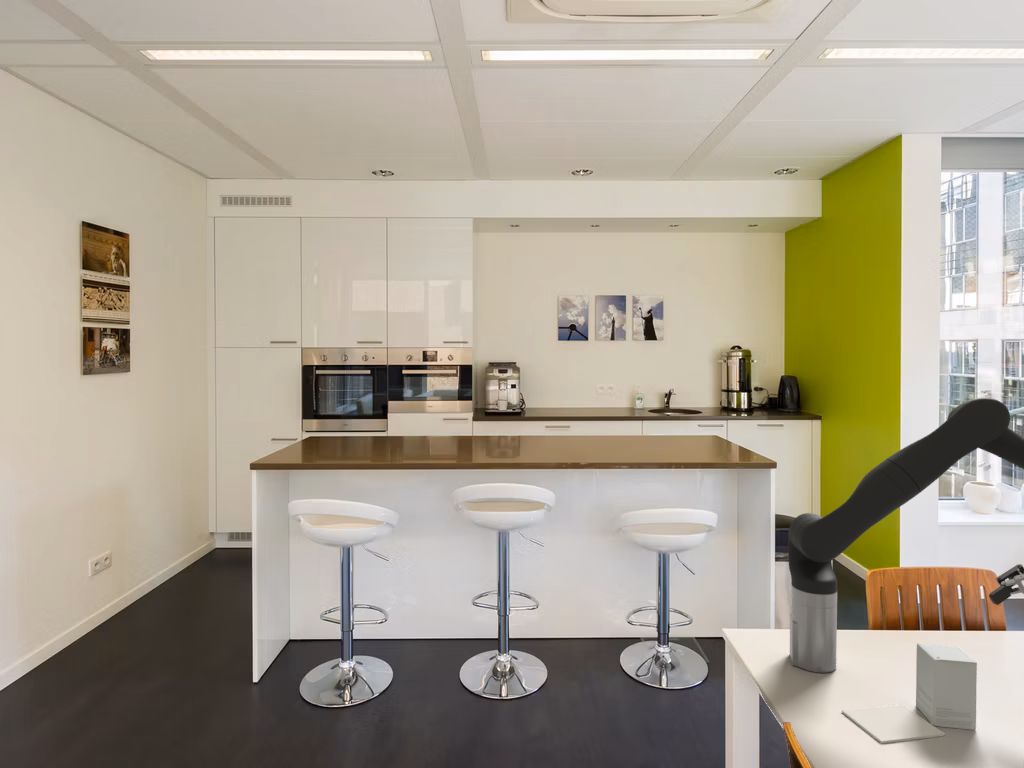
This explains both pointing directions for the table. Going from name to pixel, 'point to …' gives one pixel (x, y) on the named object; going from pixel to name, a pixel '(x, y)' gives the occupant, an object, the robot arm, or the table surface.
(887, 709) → the mat
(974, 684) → the supplement box
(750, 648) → the table surface
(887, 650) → the table surface
